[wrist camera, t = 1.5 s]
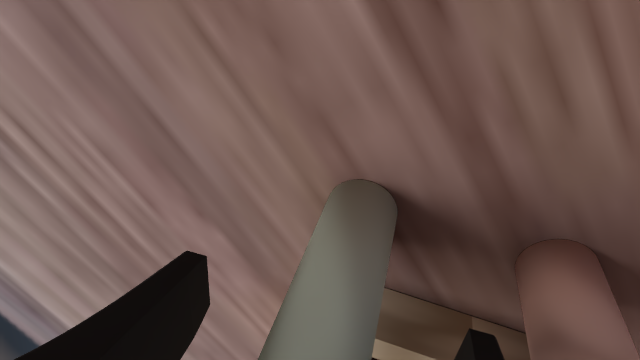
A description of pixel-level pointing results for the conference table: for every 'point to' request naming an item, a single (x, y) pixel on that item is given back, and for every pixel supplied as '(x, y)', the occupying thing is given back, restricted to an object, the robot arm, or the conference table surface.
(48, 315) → the conference table surface
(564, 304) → the short pin
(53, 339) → the robot arm
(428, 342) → the hole plate
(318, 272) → the long pin
